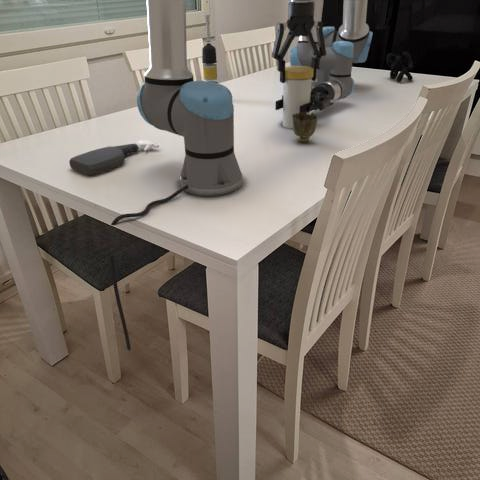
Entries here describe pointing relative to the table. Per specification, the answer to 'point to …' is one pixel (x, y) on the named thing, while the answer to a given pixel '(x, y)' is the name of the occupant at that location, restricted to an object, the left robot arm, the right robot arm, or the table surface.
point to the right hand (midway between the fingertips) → (288, 108)
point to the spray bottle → (106, 157)
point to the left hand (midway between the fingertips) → (297, 81)
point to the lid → (298, 72)
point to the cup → (304, 125)
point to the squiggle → (399, 66)
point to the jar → (295, 98)
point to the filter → (209, 57)
